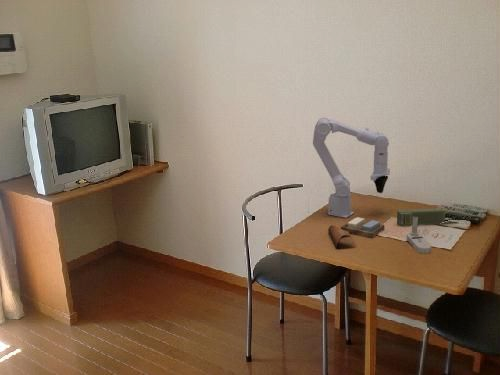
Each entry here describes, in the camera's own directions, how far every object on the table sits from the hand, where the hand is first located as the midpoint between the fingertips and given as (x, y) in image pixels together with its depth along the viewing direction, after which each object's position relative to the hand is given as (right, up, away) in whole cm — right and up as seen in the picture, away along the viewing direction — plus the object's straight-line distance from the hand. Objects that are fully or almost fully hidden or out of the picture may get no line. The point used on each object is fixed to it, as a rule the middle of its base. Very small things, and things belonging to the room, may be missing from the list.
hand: (379, 192), depth 237 cm
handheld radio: (+18, -14, -10) cm, 24 cm away
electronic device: (+7, -20, -31) cm, 38 cm away
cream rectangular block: (-13, -15, -11) cm, 22 cm away
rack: (-10, -15, -14) cm, 23 cm away
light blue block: (-7, -16, -15) cm, 23 cm away
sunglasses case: (-20, -19, -23) cm, 36 cm away
